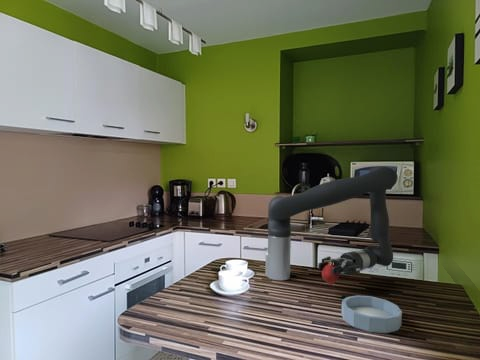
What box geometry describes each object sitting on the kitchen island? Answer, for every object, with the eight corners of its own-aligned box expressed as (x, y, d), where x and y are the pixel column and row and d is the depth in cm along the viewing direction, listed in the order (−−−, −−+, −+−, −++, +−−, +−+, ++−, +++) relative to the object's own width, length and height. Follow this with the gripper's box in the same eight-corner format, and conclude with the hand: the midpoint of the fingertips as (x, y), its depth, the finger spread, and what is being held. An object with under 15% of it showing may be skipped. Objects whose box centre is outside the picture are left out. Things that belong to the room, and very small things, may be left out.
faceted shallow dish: (333, 320, 96) (334, 307, 96) (352, 303, 108) (353, 291, 108) (392, 338, 86) (393, 323, 86) (405, 317, 98) (406, 304, 98)
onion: (325, 280, 118) (326, 258, 118) (341, 284, 114) (342, 261, 114) (318, 284, 114) (319, 262, 113) (334, 288, 110) (335, 265, 110)
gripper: (339, 247, 128) (310, 253, 118) (373, 256, 117) (344, 263, 106) (338, 266, 128) (309, 273, 118) (372, 276, 117) (343, 285, 107)
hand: (326, 268), depth 112 cm, fingers closed on onion, 5 cm apart
